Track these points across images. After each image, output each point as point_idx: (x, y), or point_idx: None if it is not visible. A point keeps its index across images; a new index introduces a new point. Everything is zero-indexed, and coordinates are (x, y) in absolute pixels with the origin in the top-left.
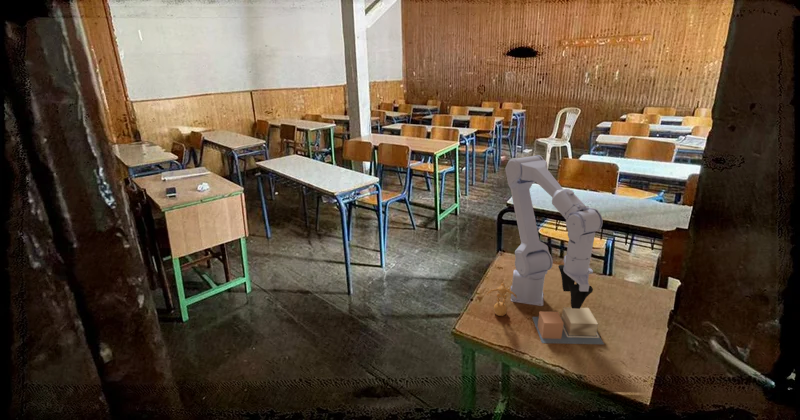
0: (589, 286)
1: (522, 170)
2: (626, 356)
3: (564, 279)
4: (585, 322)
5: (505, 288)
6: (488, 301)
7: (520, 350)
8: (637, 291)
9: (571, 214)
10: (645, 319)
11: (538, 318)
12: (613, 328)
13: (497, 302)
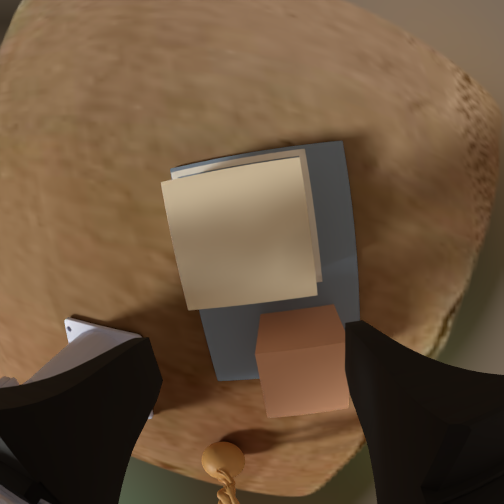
0: (479, 443)
1: None
2: (383, 81)
3: (125, 449)
4: (299, 222)
5: None
6: (173, 456)
7: None
8: (29, 27)
9: None
10: None
11: (222, 364)
12: (219, 81)
13: (212, 476)
